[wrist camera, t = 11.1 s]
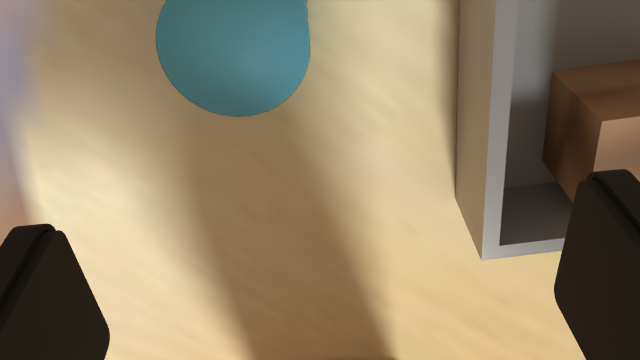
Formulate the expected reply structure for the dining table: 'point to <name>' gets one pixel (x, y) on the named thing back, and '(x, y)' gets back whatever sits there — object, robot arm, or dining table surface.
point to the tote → (523, 111)
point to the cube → (593, 122)
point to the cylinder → (234, 52)
